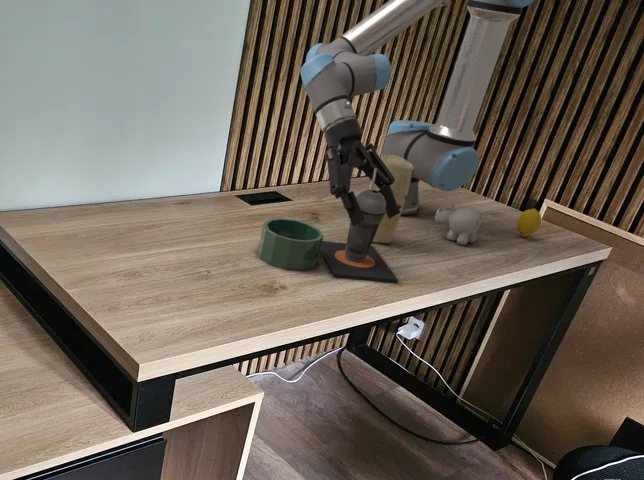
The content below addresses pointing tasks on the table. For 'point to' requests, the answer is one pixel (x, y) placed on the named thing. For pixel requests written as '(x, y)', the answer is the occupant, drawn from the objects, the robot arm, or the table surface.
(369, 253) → the mat
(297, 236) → the pot
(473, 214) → the toy rhinoceros
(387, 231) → the food model
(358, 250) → the beverage cup
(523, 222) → the lemon
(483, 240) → the table surface
